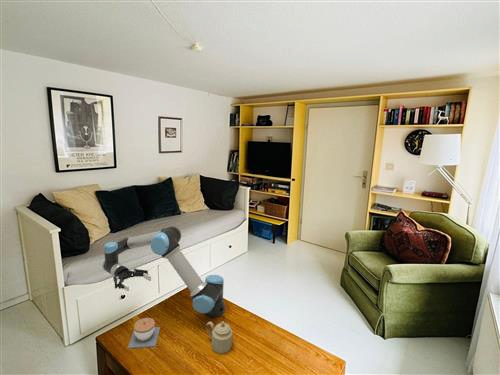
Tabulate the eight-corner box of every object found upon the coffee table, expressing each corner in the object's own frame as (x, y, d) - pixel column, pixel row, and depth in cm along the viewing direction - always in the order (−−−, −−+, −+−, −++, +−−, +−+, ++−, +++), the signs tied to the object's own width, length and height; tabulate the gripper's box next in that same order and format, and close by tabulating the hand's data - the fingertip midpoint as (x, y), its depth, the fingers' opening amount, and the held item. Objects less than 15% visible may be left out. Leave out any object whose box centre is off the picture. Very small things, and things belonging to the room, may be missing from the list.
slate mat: (160, 327, 152) (160, 326, 152) (155, 346, 139) (155, 345, 139) (134, 329, 150) (134, 328, 150) (127, 348, 137) (127, 347, 136)
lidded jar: (134, 332, 147) (133, 317, 145) (154, 327, 151) (154, 313, 150) (134, 346, 137) (133, 330, 136) (155, 341, 142) (155, 325, 140)
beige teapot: (202, 352, 137) (203, 327, 134) (206, 336, 148) (207, 313, 145) (230, 354, 137) (232, 329, 134) (232, 338, 148) (233, 314, 145)
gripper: (139, 269, 171) (158, 280, 159) (99, 286, 151) (118, 300, 139) (138, 258, 170) (158, 269, 158) (98, 274, 150) (117, 287, 138)
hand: (139, 283), depth 149 cm, fingers open, 13 cm apart
